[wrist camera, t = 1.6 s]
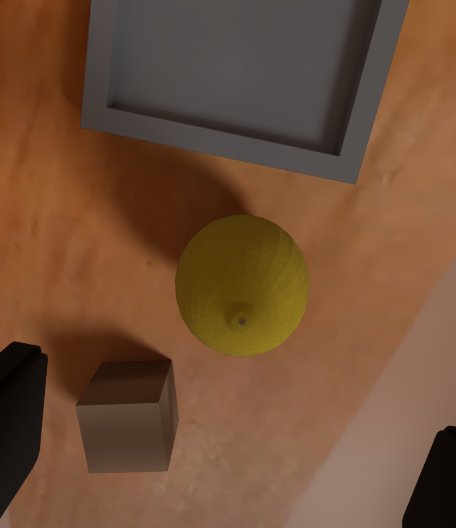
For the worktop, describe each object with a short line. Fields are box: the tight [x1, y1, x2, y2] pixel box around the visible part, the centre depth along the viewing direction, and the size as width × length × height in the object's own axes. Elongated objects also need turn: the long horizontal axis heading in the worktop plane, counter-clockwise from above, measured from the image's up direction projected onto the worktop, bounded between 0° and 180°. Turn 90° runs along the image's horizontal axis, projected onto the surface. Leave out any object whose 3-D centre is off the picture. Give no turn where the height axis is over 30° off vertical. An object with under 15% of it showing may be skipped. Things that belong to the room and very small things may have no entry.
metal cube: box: [76, 360, 179, 473], centre depth 22 cm, size 4×4×4 cm
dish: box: [80, 0, 409, 185], centre depth 17 cm, size 12×12×2 cm
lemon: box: [175, 214, 309, 356], centre depth 17 cm, size 6×6×8 cm
